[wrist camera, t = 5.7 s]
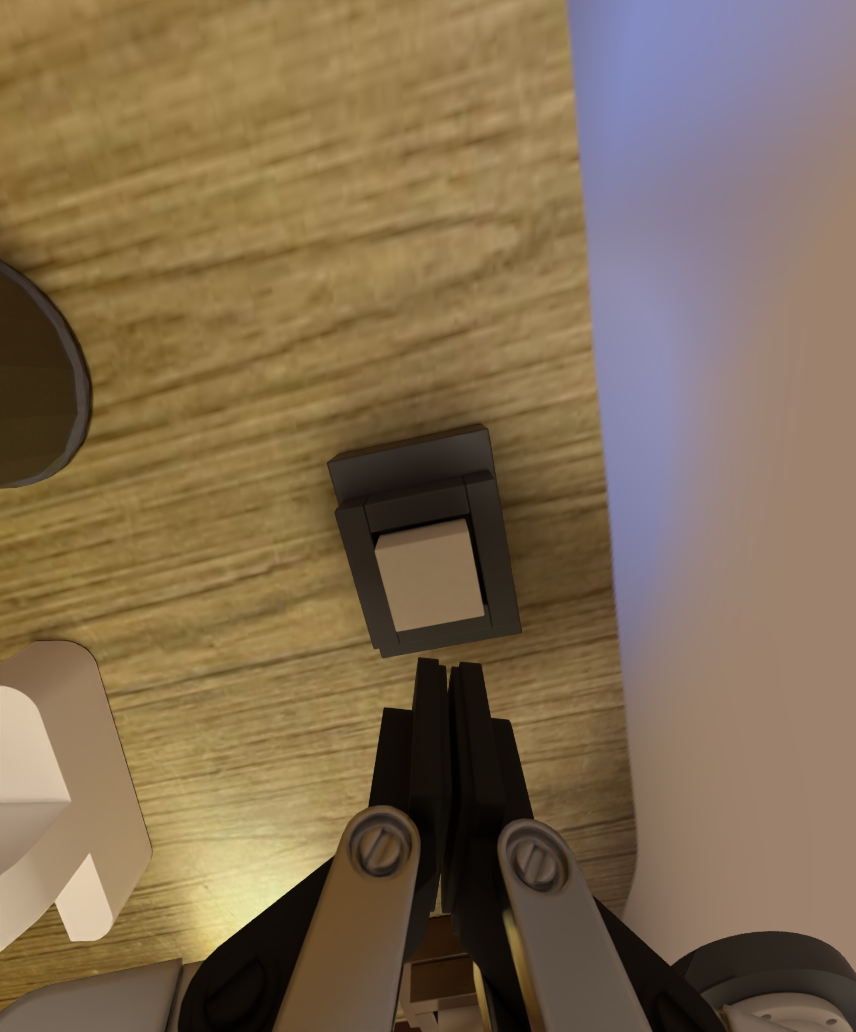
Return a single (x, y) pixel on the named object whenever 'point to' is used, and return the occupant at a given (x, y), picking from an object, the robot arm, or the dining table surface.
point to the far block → (437, 977)
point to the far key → (460, 1019)
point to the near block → (420, 502)
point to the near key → (429, 575)
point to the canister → (37, 385)
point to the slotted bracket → (63, 796)
